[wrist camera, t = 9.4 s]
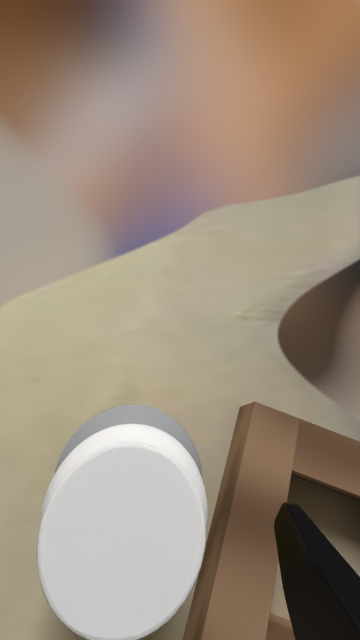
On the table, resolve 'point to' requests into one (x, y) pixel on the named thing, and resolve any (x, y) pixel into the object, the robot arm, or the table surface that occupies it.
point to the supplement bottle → (122, 533)
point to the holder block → (261, 519)
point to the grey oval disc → (132, 416)
